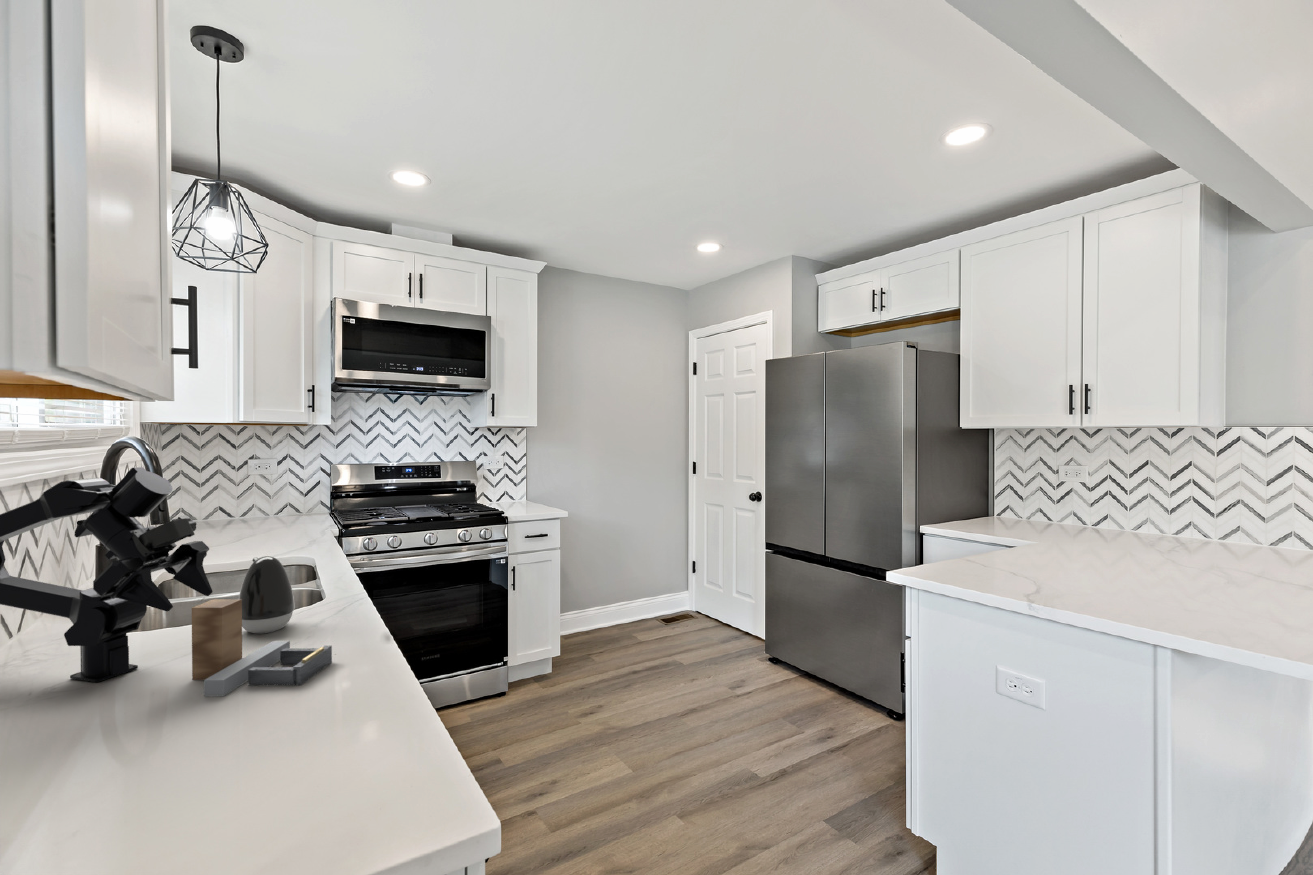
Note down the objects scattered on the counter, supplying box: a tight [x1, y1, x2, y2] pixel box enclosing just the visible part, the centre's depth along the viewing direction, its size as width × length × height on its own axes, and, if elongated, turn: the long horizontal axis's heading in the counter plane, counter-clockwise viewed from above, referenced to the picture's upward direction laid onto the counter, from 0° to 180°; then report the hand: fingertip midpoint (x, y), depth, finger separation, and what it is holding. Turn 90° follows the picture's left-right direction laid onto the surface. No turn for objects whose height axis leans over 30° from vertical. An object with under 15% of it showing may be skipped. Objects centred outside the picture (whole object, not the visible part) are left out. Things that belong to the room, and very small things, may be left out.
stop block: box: [191, 598, 243, 681], centre depth 106 cm, size 5×5×12 cm
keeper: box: [247, 645, 333, 686], centre depth 106 cm, size 8×10×3 cm
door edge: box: [203, 640, 291, 697], centre depth 106 cm, size 3×18×2 cm, turn 1°
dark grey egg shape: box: [237, 555, 296, 634], centre depth 129 cm, size 10×10×15 cm
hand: (191, 601), depth 106 cm, fingers open, 9 cm apart
